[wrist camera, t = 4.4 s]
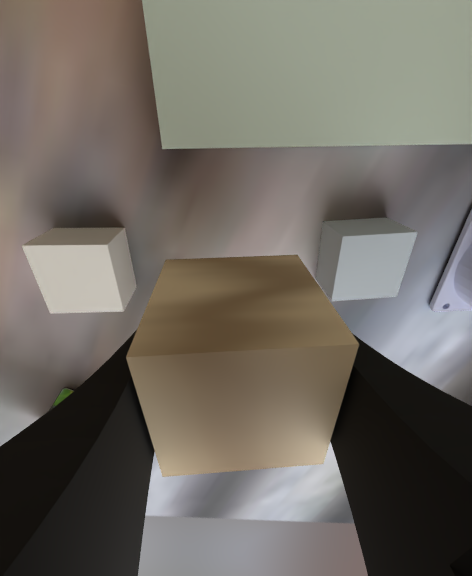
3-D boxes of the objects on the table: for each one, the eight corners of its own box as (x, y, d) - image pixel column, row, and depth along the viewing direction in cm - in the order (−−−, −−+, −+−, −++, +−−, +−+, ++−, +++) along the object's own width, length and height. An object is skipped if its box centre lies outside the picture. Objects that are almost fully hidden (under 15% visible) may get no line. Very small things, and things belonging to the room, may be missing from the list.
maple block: (297, 254, 10) (359, 344, 6) (286, 351, 12) (323, 463, 8) (166, 259, 10) (125, 357, 5) (181, 357, 12) (162, 476, 8)
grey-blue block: (385, 216, 16) (417, 231, 14) (370, 273, 18) (396, 296, 16) (322, 220, 16) (342, 236, 13) (314, 277, 18) (331, 301, 15)
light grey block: (125, 226, 15) (107, 244, 13) (137, 285, 17) (123, 311, 15) (55, 227, 15) (21, 245, 12) (75, 286, 17) (50, 313, 14)
